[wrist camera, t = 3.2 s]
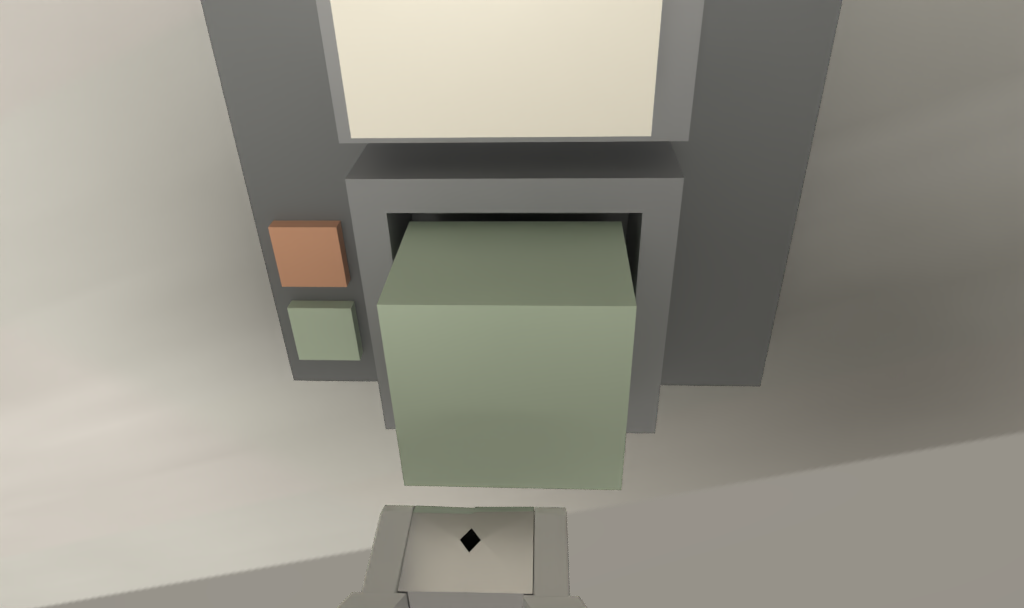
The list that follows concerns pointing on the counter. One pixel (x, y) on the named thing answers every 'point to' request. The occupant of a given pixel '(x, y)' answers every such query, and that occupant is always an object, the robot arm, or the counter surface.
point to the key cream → (498, 67)
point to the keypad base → (539, 185)
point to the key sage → (510, 353)
